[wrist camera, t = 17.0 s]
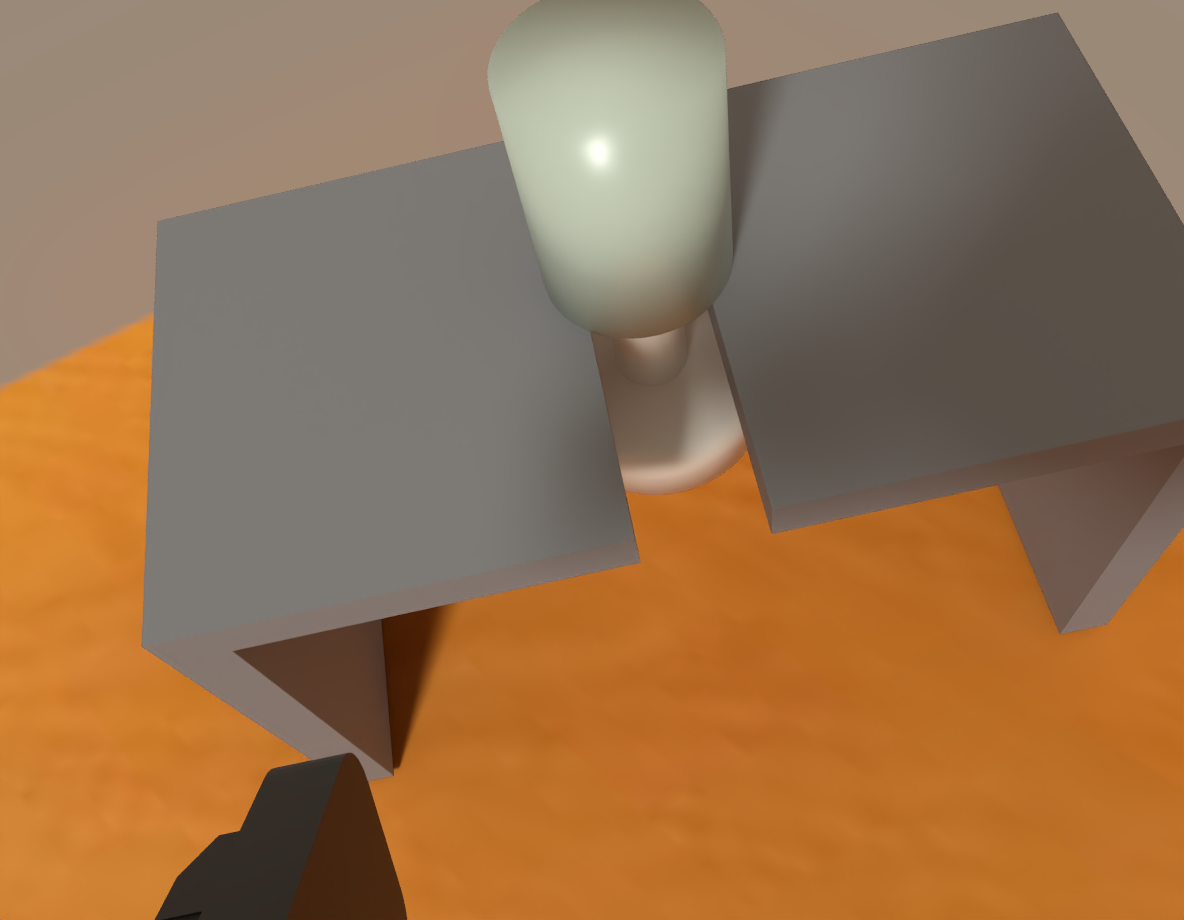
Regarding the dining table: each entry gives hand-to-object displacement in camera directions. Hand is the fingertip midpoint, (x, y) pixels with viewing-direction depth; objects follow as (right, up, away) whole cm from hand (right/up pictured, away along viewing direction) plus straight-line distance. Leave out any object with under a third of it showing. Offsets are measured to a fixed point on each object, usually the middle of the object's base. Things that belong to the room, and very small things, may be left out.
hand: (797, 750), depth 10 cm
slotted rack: (0, +1, +21) cm, 21 cm away
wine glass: (0, +4, +16) cm, 17 cm away
